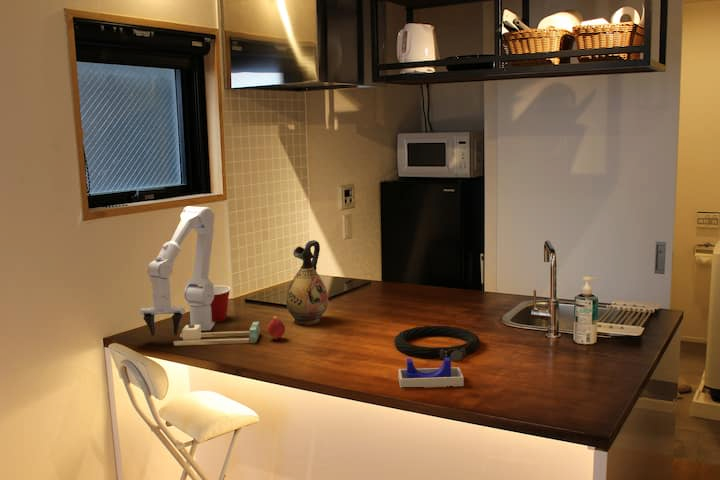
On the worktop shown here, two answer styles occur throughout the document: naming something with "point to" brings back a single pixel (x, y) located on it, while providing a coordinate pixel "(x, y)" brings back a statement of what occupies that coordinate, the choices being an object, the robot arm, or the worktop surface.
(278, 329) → the onion
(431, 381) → the shallow grey tray
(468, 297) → the worktop surface
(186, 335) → the block
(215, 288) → the plastic cup
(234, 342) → the guide rail
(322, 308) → the ceramic jug
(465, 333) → the cable lock
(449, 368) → the blue saddle holder
